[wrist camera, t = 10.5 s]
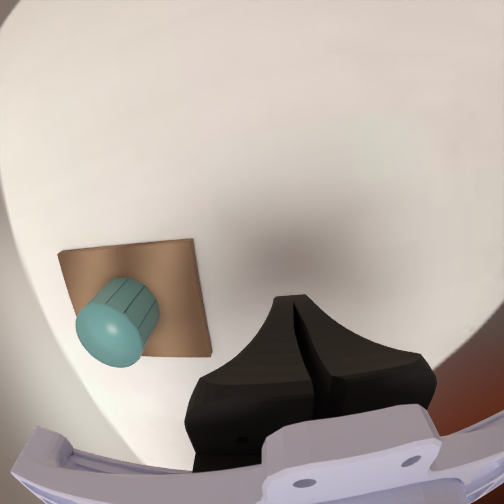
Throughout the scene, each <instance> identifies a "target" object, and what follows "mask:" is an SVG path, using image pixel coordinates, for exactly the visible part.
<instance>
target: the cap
mask: <svg viewBox="0 0 504 504" xmlns="http://www.w3.org/2000/svg"><path fill="white" fill-rule="evenodd" d="M159 317H160V311H159V307H158V302H157V300H156V298H155V296H154V295H153V294H152V293H151V292H150V290H149V289H148V288H147V287H146V286H144V284H142V283H140V282H138V281H136V280H134V279H132V278H129V277H127V278H114V279H112V280H111V281H110V282H109V283H107V284H106V285H105V286H104V287H103V288H102V289H101V290H100V291H99V292H98V293H97V294H96V295H95V296H94V297H93V298H92V299H91V300H90V301H89V302H88V303H87V304H86V305H85V306H84V307H83V308H82V309H81V310H80V311H79V314H78V316H77V318H76V332H77V335H78V338H79V340H80V342H81V343H82V345H83V346H84V348H85V349H86V350H87V351H88V352H89V353H90V354H91V355H92V356H93V357H94V358H96V359H97V360H99V361H100V362H102V363H104V364H106V365H109V366H113V367H118V368H123V367H129V366H131V365H133V364H134V363H135V362H137V360H139V359H140V357H141V355H142V353H143V351H144V349H145V347H146V345H147V343H148V341H149V339H150V337H151V336H152V334H153V332H154V330H155V328H156V326H157V323H158V320H159Z"/></svg>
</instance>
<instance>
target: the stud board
mask: <svg viewBox="0 0 504 504" xmlns="http://www.w3.org/2000/svg"><path fill="white" fill-rule="evenodd" d="M57 255H58V259H59V263H60V266H61V270H62V273H63V277H64V280H65V283H66V287H67V290H68V293H69V296H70V299H71V302H72V305H73V308H74V311H75V313H76V316H78V314H79V311H80V310H81V309H82V308H83V307H84V306H85V305H86V304H87V303H88V302H89V301H90V300H91V299H92V298H93V297H94V296H95V295H96V294H97V293H98V292H99V291H100V290H101V289H102V288H103V287H104V286H105V285H106V284H107V283H109V282H110V281H111V280H112V279H114V278H127V277H129V278H132V279H134V280H136V281H138V282H140V283H142V284H144V286H146V287H147V288H148V289H149V290H150V292H151V293H152V294H153V295H154V296H155V298H156V300H157V302H158V307H159V311H160V317H159V320H158V323H157V326H156V328H155V330H154V332H153V334H152V336H151V337H150V339H149V341H148V343H147V345H146V347H145V349H144V351H143V353H142V355H141V356H152V357H211V354H212V349H211V344H210V339H209V334H208V328H207V323H206V318H205V312H204V307H203V301H202V295H201V290H200V284H199V278H198V271H197V265H196V259H195V252H194V246H193V239H182V240H170V241H159V242H148V243H137V244H126V245H116V246H105V247H95V248H85V249H76V250H66V251H61V252H60V253H58V254H57Z"/></svg>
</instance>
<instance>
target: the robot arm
mask: <svg viewBox="0 0 504 504" xmlns="http://www.w3.org/2000/svg"><path fill="white" fill-rule="evenodd" d="M436 385H437V381H436V376H435V374H434V373H433V371H432V369H431V368H430V366H429V364H428V363H427V362H426V360H425V359H424V358H423V356H422V355H421V354H418V353H413V352H407V351H402V350H397V349H394V348H390V347H387V346H383V345H381V344H378V343H375V342H373V341H370V340H368V339H366V338H363V337H361V336H359V335H357V334H355V333H354V332H352V331H350V330H348V329H346V328H345V327H343V326H342V325H340V324H339V323H338V322H336V321H335V320H333V319H332V318H331V317H329V316H328V315H327V314H326V313H325V312H324V311H322V310H321V309H320V308H319V307H318V306H317V305H316V304H315V303H314V302H313V301H312V300H311V299H310V298H309V297H308V296H307V295H306V294H303V295H290V296H277V297H275V298H274V299H273V305H272V307H271V310H270V312H269V314H268V316H267V318H266V320H265V322H264V324H263V325H262V327H261V328H260V330H259V332H258V333H257V334H256V336H255V337H254V338H253V340H252V341H251V342H250V343H249V344H248V345H247V346H246V347H245V348H244V349H243V350H242V351H241V352H240V353H239V354H238V355H237V356H236V357H235V358H233V359H232V360H231V361H229V362H228V363H226V364H225V365H223V366H222V367H220V368H218V369H216V370H215V371H213V372H211V373H209V374H207V375H205V376H203V377H201V378H200V379H199V381H198V383H197V385H196V387H195V389H194V391H193V393H192V395H191V398H190V401H189V404H188V408H187V412H186V417H185V421H184V423H185V429H186V432H187V434H188V436H189V439H190V441H191V443H192V446H193V448H194V450H195V452H196V454H195V460H194V465H193V471H186V470H176V469H168V468H160V467H153V466H147V465H141V464H136V463H130V462H125V461H120V460H116V459H112V458H107V457H103V456H99V455H95V454H92V453H88V452H85V451H81V450H78V449H74V448H73V446H72V445H71V443H70V442H69V441H68V440H67V438H66V437H64V436H63V435H61V434H60V433H57V432H55V431H52V430H49V429H46V428H43V427H40V426H37V427H36V429H35V430H34V432H33V434H32V435H31V437H30V439H29V440H28V442H27V443H26V445H25V447H24V449H23V450H22V452H21V454H20V455H19V457H18V459H17V461H16V462H15V464H14V466H13V468H12V470H11V474H12V475H13V476H14V477H15V478H16V479H18V480H19V481H20V482H21V483H22V484H23V485H24V486H25V487H27V488H28V489H29V490H30V491H31V492H32V493H34V494H35V495H36V496H37V497H38V498H40V499H41V500H42V501H43V502H45V503H46V504H470V503H472V502H474V501H476V500H477V499H479V498H480V497H482V496H484V495H485V494H487V493H488V492H490V491H491V490H493V489H494V488H496V487H497V486H499V485H500V484H502V483H503V482H504V410H503V411H501V412H499V413H497V414H495V415H493V416H491V417H489V418H487V419H485V420H483V421H481V422H479V423H477V424H474V425H472V426H470V427H468V428H466V429H463V430H461V431H458V432H456V433H453V434H451V435H449V436H442V437H440V436H439V434H438V432H437V430H436V428H435V426H434V424H433V422H432V420H431V418H430V416H429V414H428V412H427V408H428V406H429V404H430V401H431V399H432V397H433V395H434V392H435V389H436Z"/></svg>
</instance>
